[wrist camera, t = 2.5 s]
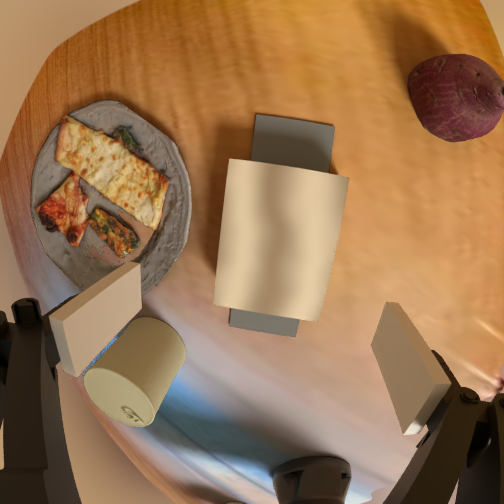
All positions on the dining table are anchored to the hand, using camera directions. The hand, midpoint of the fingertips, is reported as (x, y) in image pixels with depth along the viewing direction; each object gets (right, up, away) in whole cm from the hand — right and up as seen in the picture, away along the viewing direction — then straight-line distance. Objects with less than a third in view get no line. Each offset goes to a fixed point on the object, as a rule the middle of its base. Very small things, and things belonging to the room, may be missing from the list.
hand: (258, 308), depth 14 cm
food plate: (-19, +9, +18) cm, 28 cm away
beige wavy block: (+3, +5, +16) cm, 17 cm away
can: (-14, -10, +23) cm, 28 cm away
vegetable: (+22, +20, +9) cm, 31 cm away
